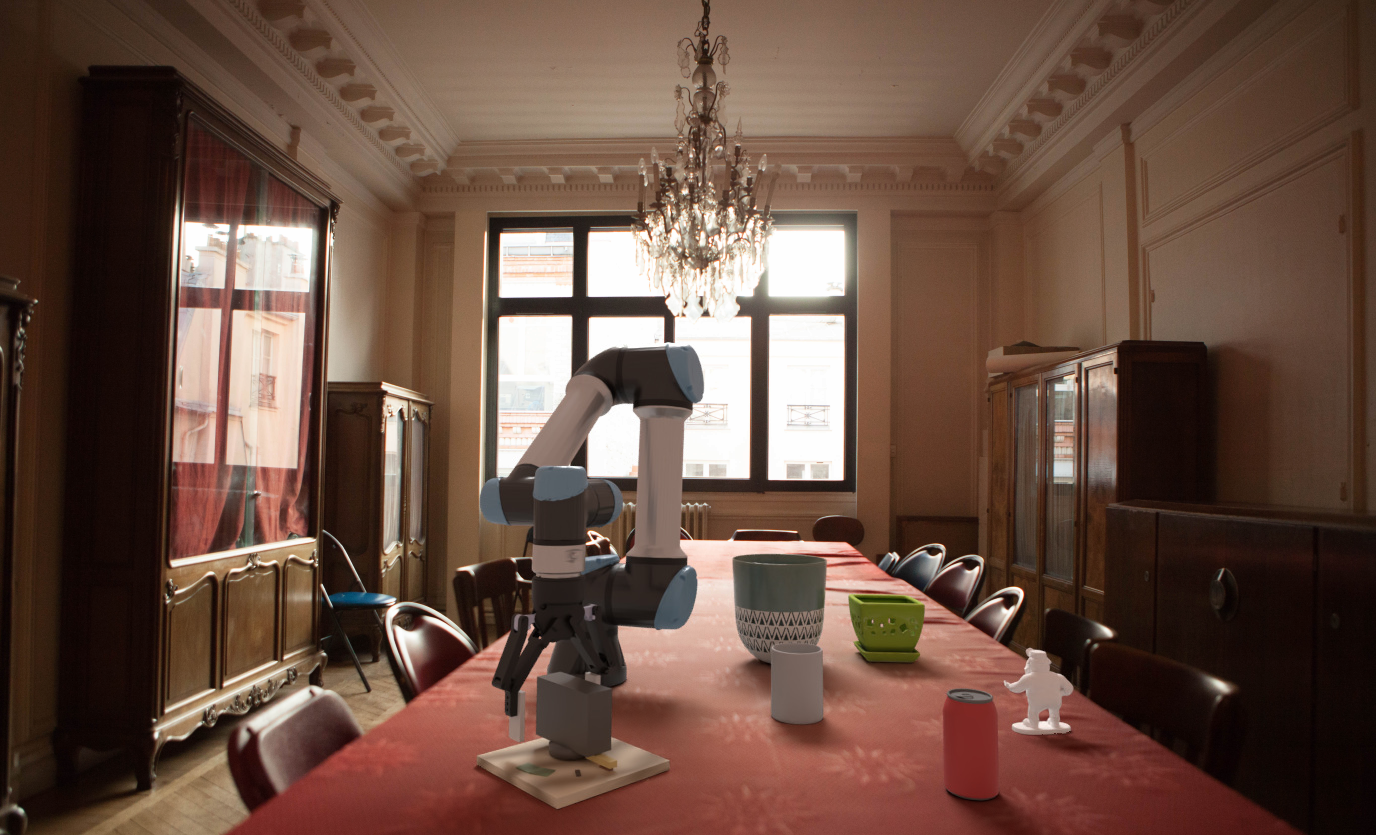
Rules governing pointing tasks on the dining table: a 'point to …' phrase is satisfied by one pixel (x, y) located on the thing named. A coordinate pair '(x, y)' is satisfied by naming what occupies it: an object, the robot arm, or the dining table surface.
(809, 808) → the dining table surface
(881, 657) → the flower pot
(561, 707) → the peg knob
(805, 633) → the planter
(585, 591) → the robot arm
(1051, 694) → the figurine
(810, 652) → the mug
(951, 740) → the beer can
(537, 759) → the board
